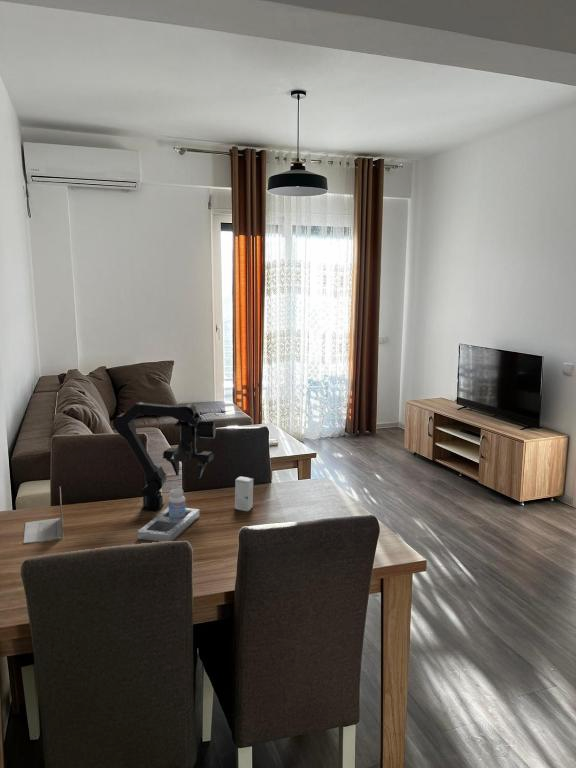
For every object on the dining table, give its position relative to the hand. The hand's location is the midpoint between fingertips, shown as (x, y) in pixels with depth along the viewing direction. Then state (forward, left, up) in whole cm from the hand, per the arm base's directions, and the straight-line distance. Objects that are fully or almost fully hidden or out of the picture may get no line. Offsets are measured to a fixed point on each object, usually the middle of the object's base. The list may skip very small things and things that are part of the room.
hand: (188, 476), depth 223 cm
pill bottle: (+1, -12, -13) cm, 17 cm away
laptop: (-40, -33, -14) cm, 54 cm away
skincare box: (+20, +7, -13) cm, 25 cm away
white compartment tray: (+1, -18, -13) cm, 22 cm away
